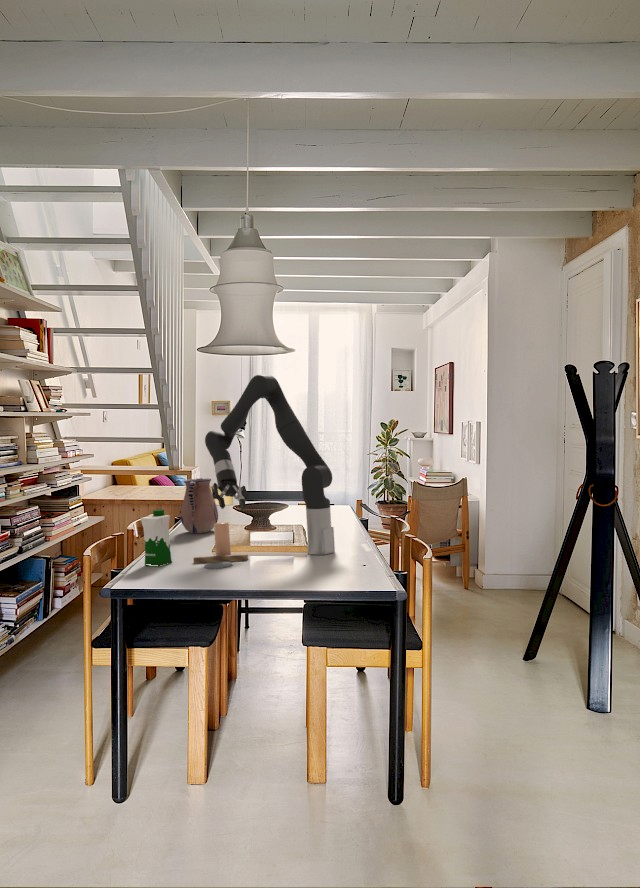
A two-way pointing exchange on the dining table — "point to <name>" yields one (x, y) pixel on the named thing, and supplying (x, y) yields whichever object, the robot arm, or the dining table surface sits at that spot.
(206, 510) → the ceramic pitcher
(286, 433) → the robot arm
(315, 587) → the dining table surface
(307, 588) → the dining table surface
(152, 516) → the milk carton
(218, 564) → the coaster
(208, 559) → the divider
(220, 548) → the peach cylinder
